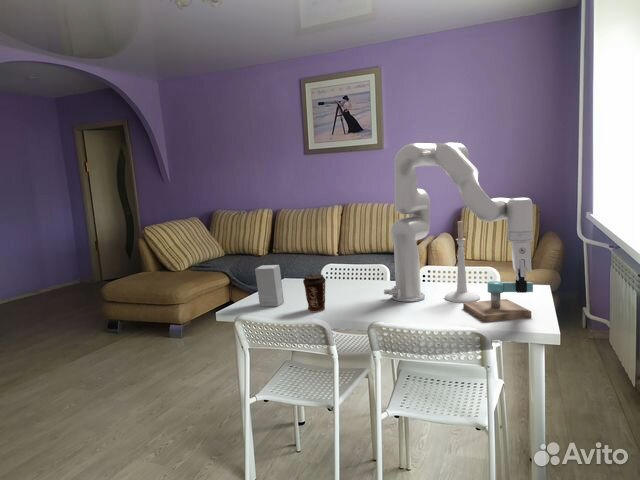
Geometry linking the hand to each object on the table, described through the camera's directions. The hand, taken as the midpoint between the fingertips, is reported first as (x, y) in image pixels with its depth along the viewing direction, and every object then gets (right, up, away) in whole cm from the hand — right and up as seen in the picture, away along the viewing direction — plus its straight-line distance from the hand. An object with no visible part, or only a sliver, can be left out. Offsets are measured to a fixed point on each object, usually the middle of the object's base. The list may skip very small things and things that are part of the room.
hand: (521, 291), depth 151 cm
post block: (-6, -8, +5) cm, 11 cm away
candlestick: (-11, -6, +26) cm, 29 cm away
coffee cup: (-67, -9, +23) cm, 72 cm away
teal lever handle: (-2, 0, +3) cm, 4 cm away
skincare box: (-85, -9, +34) cm, 92 cm away
